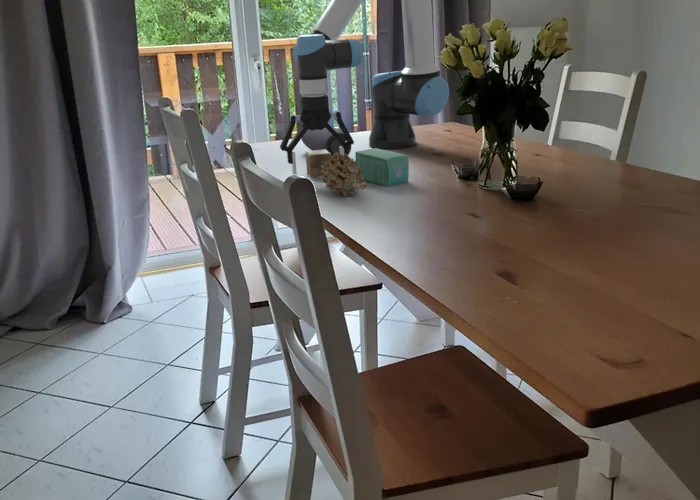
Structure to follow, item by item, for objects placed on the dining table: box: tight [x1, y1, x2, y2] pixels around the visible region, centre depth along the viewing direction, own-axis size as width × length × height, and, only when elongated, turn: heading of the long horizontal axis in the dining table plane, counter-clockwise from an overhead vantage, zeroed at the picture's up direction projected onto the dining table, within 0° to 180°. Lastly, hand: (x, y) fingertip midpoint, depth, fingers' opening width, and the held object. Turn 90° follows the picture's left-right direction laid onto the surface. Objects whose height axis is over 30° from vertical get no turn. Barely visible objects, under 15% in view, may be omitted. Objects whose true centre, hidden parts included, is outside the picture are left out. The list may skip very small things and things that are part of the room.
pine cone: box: [319, 153, 368, 197], centre depth 169 cm, size 22×10×10 cm, turn 28°
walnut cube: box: [305, 149, 331, 178], centre depth 193 cm, size 6×6×6 cm
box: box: [354, 147, 410, 188], centre depth 183 cm, size 7×14×8 cm, turn 38°
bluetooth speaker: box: [300, 126, 352, 156], centre depth 212 cm, size 23×9×10 cm, turn 22°
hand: (318, 172), depth 194 cm, fingers open, 13 cm apart
